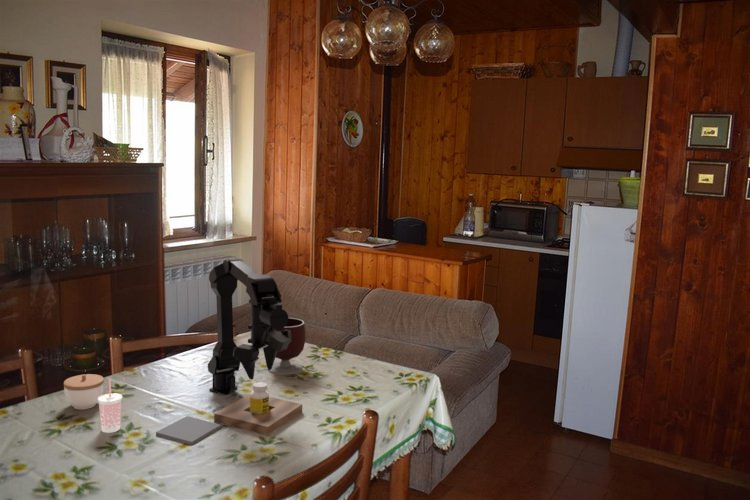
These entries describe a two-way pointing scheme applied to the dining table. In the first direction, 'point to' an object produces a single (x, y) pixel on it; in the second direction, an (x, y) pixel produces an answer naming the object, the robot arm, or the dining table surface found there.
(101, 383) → the lidded jar
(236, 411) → the holder block
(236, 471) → the dining table surface
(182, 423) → the pad
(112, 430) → the beverage cup
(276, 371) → the mate gourd
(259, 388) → the supplement bottle
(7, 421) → the dining table surface
